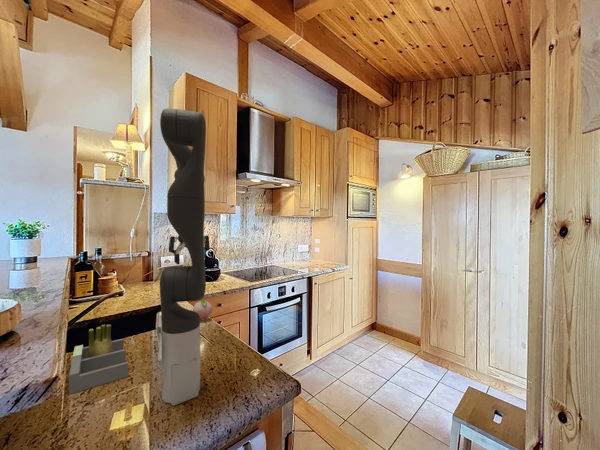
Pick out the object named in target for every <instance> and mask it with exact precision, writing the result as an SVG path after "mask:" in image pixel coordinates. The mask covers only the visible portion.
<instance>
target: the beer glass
mask: <svg viewBox="0 0 600 450" xmlns="http://www.w3.org/2000/svg"><path fill="white" fill-rule="evenodd" d="M155 332H156V333H155V334H156V338H157V343H158V344H157V345H158V353H157V359H156V360H157V361H159V362H162V321H161V311H158V312H157V313H156V318H155Z"/></svg>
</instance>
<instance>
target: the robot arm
mask: <svg viewBox="0 0 600 450" xmlns="http://www.w3.org/2000/svg"><path fill="white" fill-rule="evenodd" d="M159 119H160V120H159V121H160V122H159V123H160V132H161V137H162V138H163V141H164V142H165V143H164V144H165V145H166V146H167V149H168V150H169V152H170V154H171V155H172V157H173V158H174V161H175V164H176V168H177V169H176V170H175V171H174V175H173V177H174V180H173V182H172V183H171V185H170V186H169V188H168V191H167V196H166V197H167V198H166V199H167V201H166V202H167V203H166V207H167V208H166V209H167V212H166V213H167V214H166V215H167V219H168V221H169V223H170V225H171V226H172V228H173V229H174V231H175V232H176V233H177V234H178V236H173V235H171V236H169V240H168V252H169V253H171V254H173V257H174V258H173V259H174V261H173V262H174V263H175V264H176V265H179V266H168V267H167V266H166V267H165V268H163V270H162V271H161V274H160V278H159V294H160V312H161V321H162V361H161V399H162V401H163V402H164V403H167V404H171V406H177V405H178V404H181V403H184V402H186V401H189V400H191V399H194V398H197V397H199V391H200V390H201V319H200V316H199V314H198V313H197V312H195V311H193V310H191V309H188V308H185V307H183V306H181V305H180V304H178V303H182V302H183V303H184V302H195V301H200V300H203V299H204V297H205V295H206V294H205V293H206V289H207V288H206V286H207V280H206V278H207V277H206V262H205V255H206V252H207V251H208V252H209V251H210V250H211V249H210V248H211V247H210V236H209V235H205V214H206V213H205V207H206V205H205V204H206V203H205V201H206V200H205V181H206V179H205V173H204V172H205V171H204V170H205V154H206V153H205V152H206V135H207V126H206V125H207V124H206V119H205V116H204V114H203V113H201V112H198V111H193V110H185V109H177V108H164V109H162V111H161V113H160V118H159ZM190 147H192V149H191V148H190ZM177 240H178V242H179V244H178V245H177V247H176V249H175V243H177ZM184 248H186V249H187V251H188V254H189V255H190V260H191V265H185V266H181V265H180V254H179V253H181V251H182V250H183V249H184Z"/></svg>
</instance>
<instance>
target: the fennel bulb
mask: <svg viewBox="0 0 600 450" xmlns="http://www.w3.org/2000/svg"><path fill="white" fill-rule="evenodd" d="M111 332H112V324H102V325H100V326H98V327H96V329H95V330H94V329H93V328H90V329H89V330H88V346H89V349H88V357H89V358H90V357H94V356H99V355H103V354H107V353H111V352H112V351H113V349H112V342H111V341H112V337H111V335H112V334H111Z"/></svg>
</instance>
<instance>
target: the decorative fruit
mask: <svg viewBox="0 0 600 450" xmlns="http://www.w3.org/2000/svg"><path fill="white" fill-rule="evenodd" d="M192 311H195V312H197V313H198V314H199V316H200V320H202V321H204V319H205V320H207V319H208V318H209V317H210V315H211V314H212V312H213V305H212V304H211V303H210V302H208V301H207V300H206V299H204V298H202V299H201V300H199V301H198V302H196V303H195V304H194V306H193V307H192Z"/></svg>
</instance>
